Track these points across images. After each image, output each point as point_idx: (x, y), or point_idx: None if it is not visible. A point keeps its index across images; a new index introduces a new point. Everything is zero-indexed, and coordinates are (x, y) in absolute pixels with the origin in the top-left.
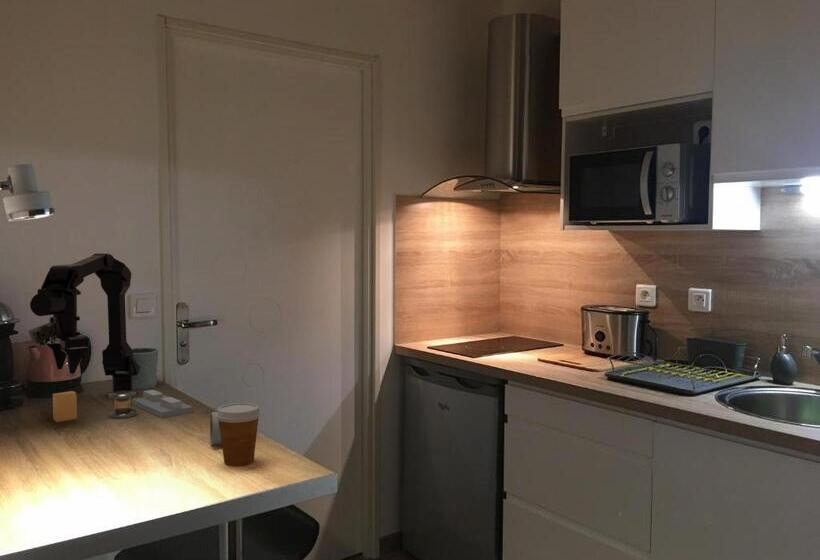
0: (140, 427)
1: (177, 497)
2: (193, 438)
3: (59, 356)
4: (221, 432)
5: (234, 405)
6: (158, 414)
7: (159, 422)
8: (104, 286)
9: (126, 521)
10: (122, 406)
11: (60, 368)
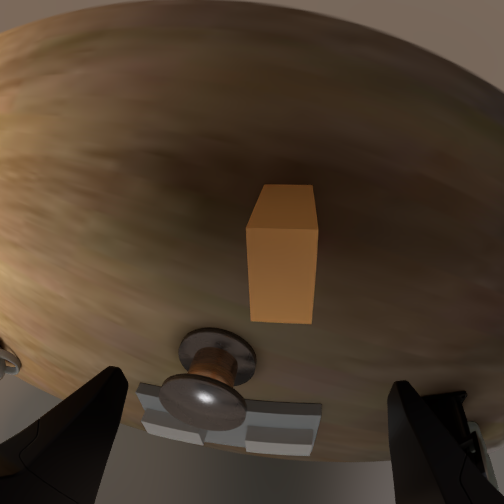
0: (81, 325)
1: None
2: (11, 334)
3: (414, 486)
4: None
5: None
6: (153, 389)
7: (107, 363)
8: None
9: None
10: (188, 371)
11: (391, 396)
